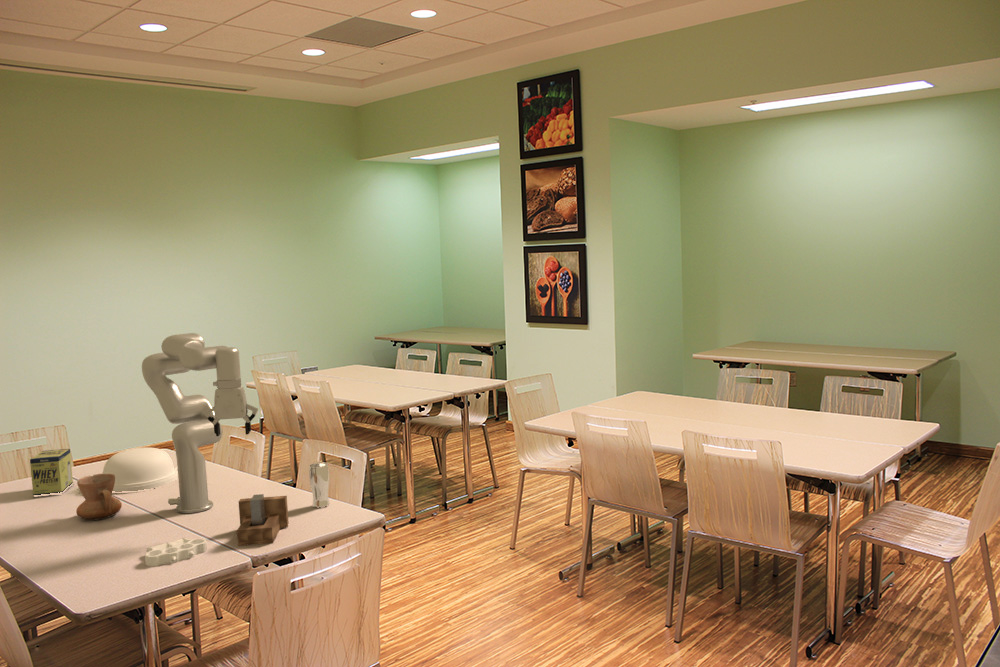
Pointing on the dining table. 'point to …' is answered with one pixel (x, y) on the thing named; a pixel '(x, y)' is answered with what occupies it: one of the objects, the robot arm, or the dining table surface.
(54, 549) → the dining table surface
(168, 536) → the dining table surface
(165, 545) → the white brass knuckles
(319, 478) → the beer glass
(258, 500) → the grey rectangular block
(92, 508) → the ceramic jug
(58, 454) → the protein box
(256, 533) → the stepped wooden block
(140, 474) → the dome cover
